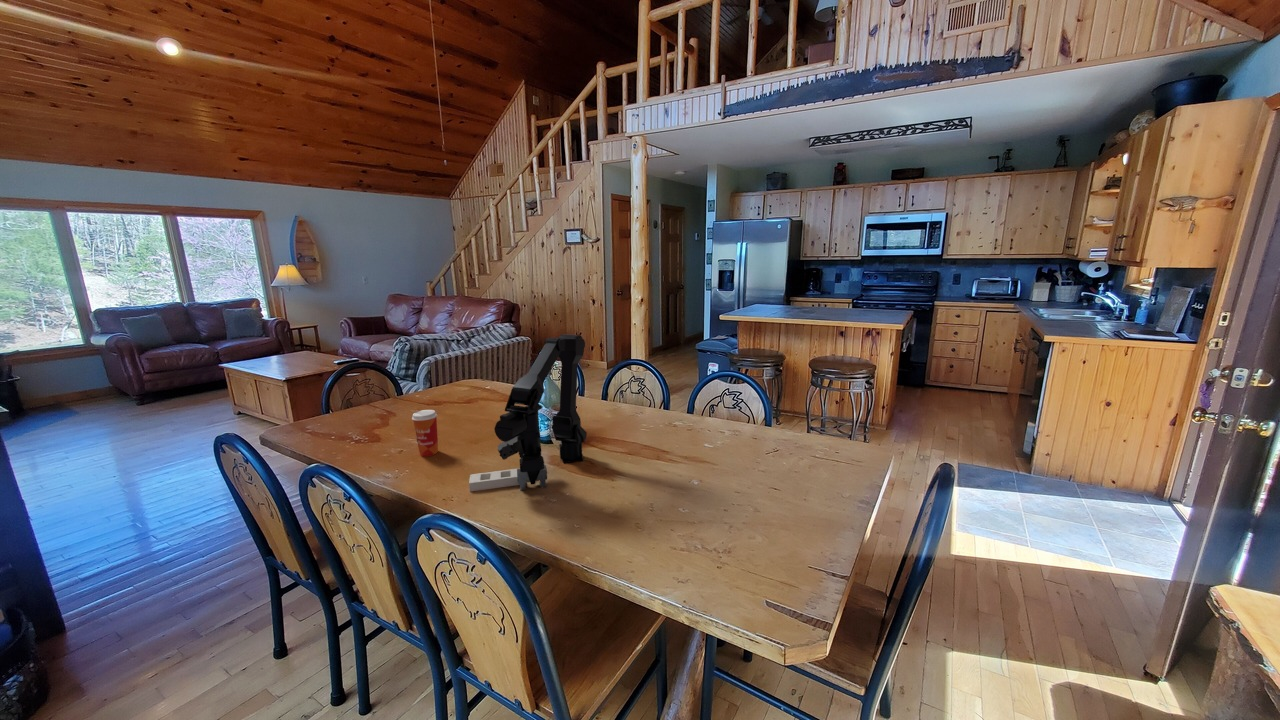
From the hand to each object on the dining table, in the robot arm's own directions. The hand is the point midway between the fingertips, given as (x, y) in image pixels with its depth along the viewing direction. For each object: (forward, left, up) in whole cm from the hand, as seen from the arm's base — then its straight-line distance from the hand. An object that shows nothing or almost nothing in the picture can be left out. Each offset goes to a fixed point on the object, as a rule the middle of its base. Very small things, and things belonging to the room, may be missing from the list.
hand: (532, 481), depth 136 cm
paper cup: (+32, -35, -2) cm, 47 cm away
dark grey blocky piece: (0, 0, -2) cm, 2 cm away
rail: (+10, -5, -2) cm, 11 cm away
